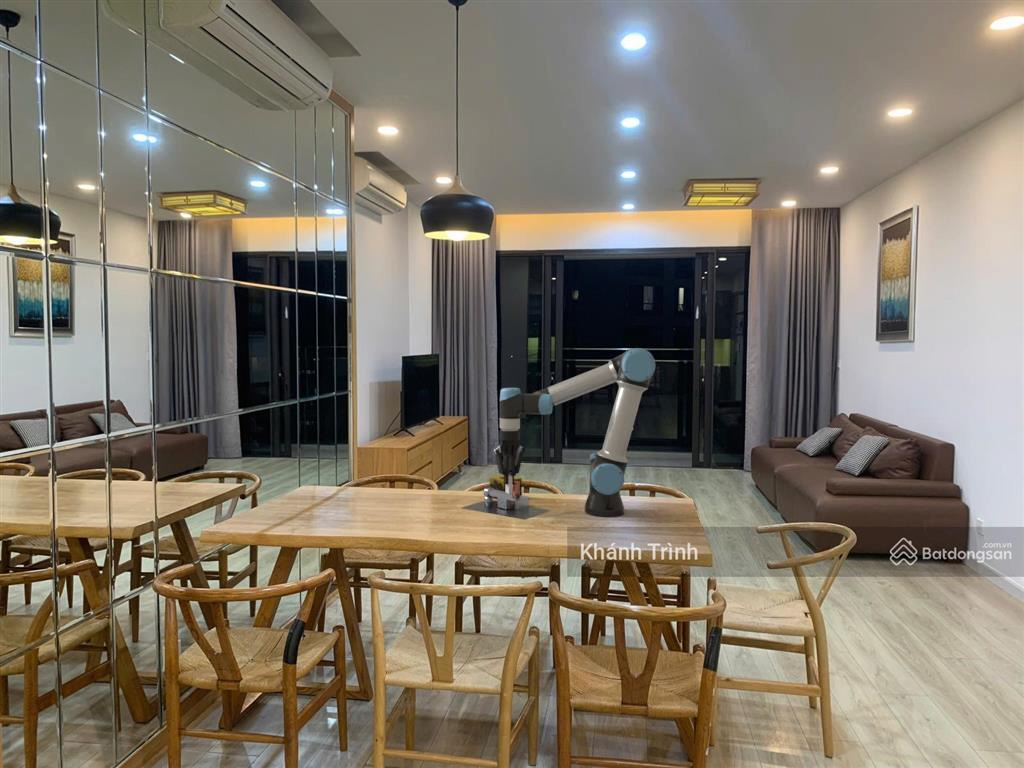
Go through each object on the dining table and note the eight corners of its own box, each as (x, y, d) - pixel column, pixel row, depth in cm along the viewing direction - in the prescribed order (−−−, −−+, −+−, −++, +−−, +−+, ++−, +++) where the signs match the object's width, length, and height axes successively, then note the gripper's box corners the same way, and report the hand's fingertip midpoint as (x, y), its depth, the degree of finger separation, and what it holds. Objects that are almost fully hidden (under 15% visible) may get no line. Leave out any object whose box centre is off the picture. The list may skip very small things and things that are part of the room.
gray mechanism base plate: (550, 514, 254) (551, 499, 254) (524, 523, 239) (524, 508, 239) (488, 503, 271) (488, 489, 271) (460, 511, 257) (460, 497, 256)
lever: (481, 505, 260) (481, 476, 259) (489, 503, 263) (490, 475, 262) (514, 513, 247) (514, 483, 246) (523, 511, 250) (523, 481, 249)
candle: (508, 497, 283) (508, 474, 283) (522, 501, 275) (523, 477, 275) (488, 500, 277) (488, 476, 277) (503, 505, 269) (503, 480, 269)
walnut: (519, 507, 258) (519, 497, 258) (512, 509, 254) (512, 499, 254) (510, 505, 261) (510, 495, 260) (503, 507, 257) (503, 497, 257)
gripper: (519, 427, 252) (518, 489, 253) (489, 429, 246) (488, 492, 247) (529, 429, 246) (528, 493, 247) (499, 431, 240) (498, 496, 241)
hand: (508, 492), depth 247 cm, fingers closed
